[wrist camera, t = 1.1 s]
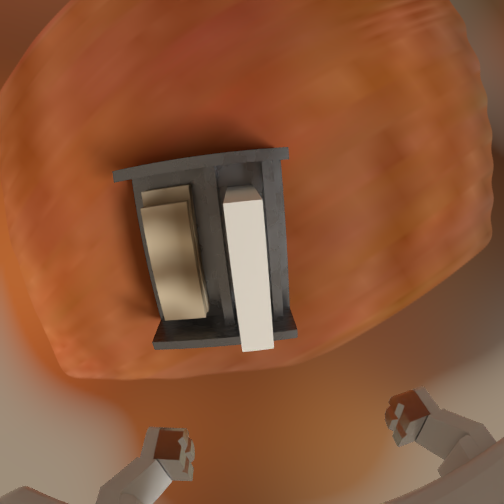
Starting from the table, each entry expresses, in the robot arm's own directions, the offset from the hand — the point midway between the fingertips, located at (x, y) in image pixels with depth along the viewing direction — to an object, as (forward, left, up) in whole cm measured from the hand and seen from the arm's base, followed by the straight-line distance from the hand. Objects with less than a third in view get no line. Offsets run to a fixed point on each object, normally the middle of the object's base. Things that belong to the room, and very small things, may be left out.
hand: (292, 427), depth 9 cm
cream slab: (+1, -1, -27) cm, 27 cm away
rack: (+1, -5, -29) cm, 29 cm away
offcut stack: (+1, -9, -27) cm, 29 cm away
